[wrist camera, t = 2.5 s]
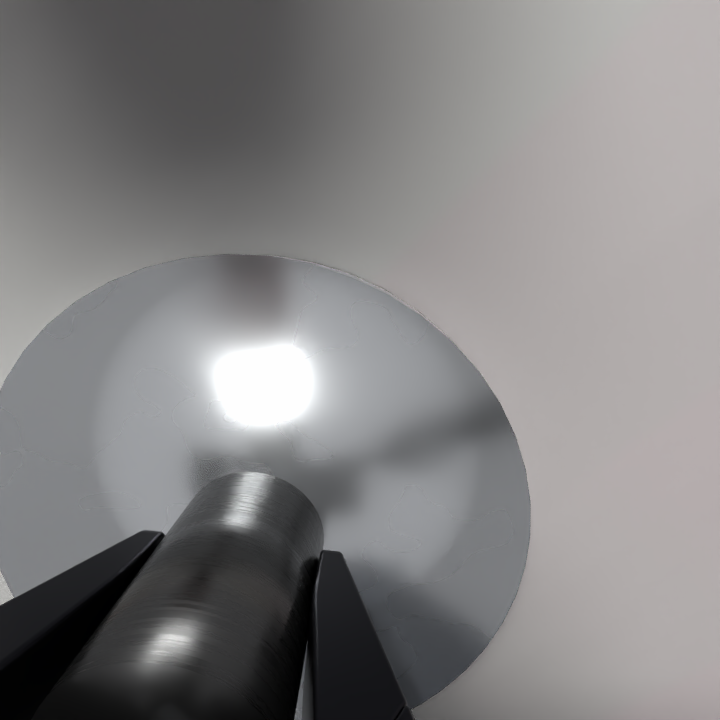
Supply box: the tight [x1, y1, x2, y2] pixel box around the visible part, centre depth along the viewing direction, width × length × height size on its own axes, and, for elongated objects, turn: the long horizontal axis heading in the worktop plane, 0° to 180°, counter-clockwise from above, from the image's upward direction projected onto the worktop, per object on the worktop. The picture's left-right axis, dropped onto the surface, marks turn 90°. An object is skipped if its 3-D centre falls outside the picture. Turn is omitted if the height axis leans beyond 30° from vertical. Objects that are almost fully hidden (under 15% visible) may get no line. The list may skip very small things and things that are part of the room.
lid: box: [0, 254, 530, 720], centre depth 7 cm, size 12×12×5 cm
